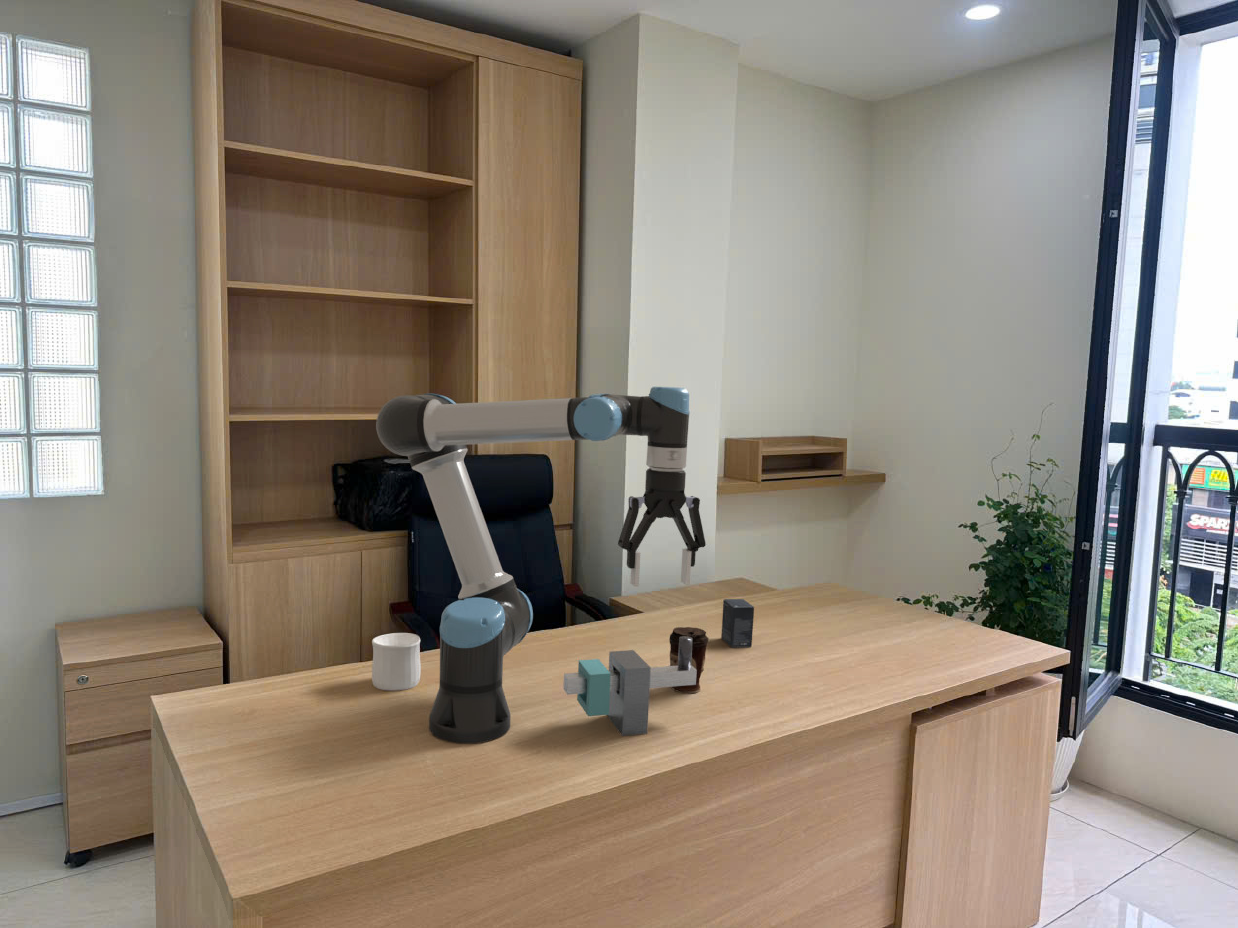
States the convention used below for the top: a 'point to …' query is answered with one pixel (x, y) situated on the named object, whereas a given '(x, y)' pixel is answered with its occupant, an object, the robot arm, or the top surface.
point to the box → (737, 622)
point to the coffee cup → (697, 653)
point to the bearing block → (630, 693)
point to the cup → (396, 661)
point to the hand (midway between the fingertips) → (660, 583)
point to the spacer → (595, 687)
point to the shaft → (658, 675)
